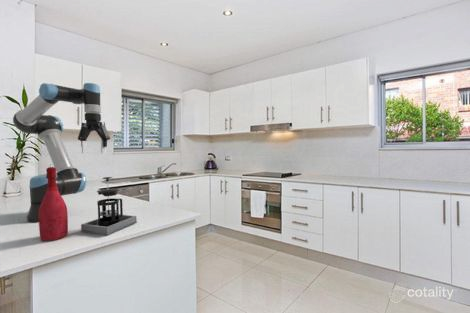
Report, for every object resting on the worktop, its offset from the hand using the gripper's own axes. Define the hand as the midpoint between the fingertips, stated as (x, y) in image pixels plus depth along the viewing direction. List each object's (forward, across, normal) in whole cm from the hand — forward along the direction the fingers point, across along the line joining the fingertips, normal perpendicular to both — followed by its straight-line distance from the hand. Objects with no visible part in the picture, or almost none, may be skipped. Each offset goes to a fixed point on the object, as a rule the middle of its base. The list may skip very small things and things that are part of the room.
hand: (94, 153), depth 132 cm
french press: (+34, +21, -11) cm, 41 cm away
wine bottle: (+35, +8, -28) cm, 46 cm away
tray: (+35, +21, -11) cm, 42 cm away
